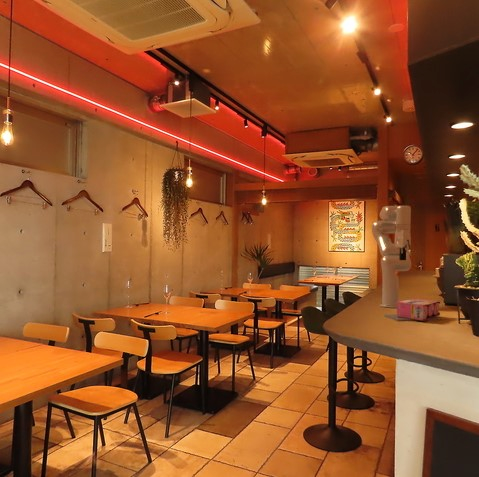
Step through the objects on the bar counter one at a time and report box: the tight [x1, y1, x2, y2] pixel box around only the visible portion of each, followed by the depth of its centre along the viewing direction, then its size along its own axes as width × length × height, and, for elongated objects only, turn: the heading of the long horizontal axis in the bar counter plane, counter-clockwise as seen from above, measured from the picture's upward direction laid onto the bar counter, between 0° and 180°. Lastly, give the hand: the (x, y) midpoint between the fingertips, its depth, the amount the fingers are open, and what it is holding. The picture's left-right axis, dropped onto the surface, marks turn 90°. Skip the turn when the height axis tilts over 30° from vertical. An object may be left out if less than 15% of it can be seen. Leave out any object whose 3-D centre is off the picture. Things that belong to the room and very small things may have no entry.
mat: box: [383, 314, 443, 322], centre depth 214 cm, size 14×24×1 cm, turn 98°
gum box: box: [396, 298, 441, 320], centre depth 215 cm, size 24×8×14 cm
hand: (402, 260), depth 232 cm, fingers closed
